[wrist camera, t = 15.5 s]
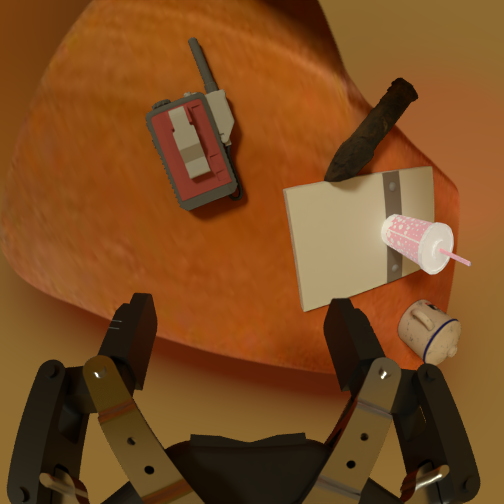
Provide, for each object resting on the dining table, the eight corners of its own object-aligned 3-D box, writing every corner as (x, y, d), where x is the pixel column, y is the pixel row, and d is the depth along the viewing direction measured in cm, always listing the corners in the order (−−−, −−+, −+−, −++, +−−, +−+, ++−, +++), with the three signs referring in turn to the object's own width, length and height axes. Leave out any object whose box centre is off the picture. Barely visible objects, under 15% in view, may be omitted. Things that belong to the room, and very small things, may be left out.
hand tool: (389, 80, 29) (409, 73, 24) (405, 101, 30) (426, 97, 26) (307, 163, 31) (324, 163, 26) (328, 187, 32) (347, 190, 28)
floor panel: (282, 189, 31) (286, 190, 29) (426, 165, 33) (433, 166, 32) (301, 307, 36) (304, 312, 35) (428, 261, 39) (433, 264, 37)
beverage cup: (401, 255, 35) (471, 294, 22) (371, 246, 34) (446, 289, 21) (413, 215, 34) (489, 242, 21) (384, 203, 32) (466, 228, 19)
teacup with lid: (435, 313, 44) (473, 342, 33) (405, 347, 44) (440, 381, 33) (417, 279, 39) (465, 309, 29) (382, 319, 40) (424, 358, 29)
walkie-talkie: (258, 190, 31) (200, 40, 24) (267, 194, 27) (201, 23, 20) (186, 219, 30) (129, 66, 23) (184, 227, 26) (119, 53, 19)
